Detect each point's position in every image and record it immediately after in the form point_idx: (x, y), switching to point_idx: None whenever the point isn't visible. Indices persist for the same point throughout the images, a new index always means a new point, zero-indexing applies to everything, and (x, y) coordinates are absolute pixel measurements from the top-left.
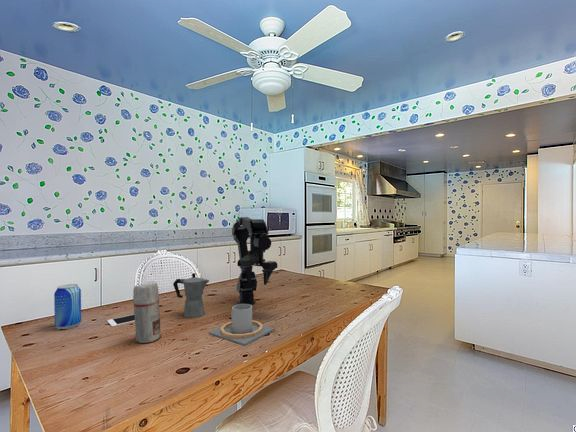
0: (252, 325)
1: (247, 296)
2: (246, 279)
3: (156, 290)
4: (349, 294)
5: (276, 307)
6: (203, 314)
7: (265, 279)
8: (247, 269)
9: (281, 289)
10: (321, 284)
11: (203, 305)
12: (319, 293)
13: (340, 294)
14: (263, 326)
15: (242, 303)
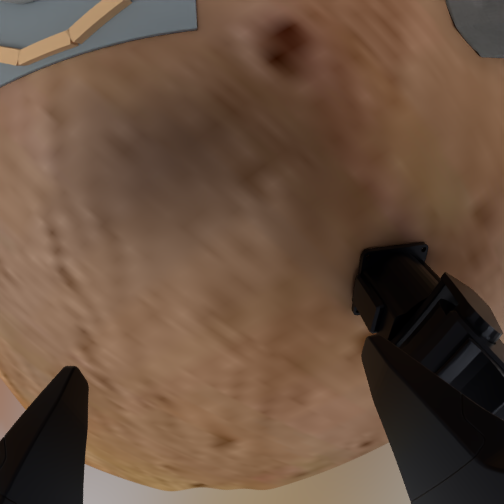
0: (50, 30)
1: (392, 294)
2: (451, 374)
3: None
4: (142, 475)
5: (205, 330)
6: (451, 15)
7: (17, 421)
8: (472, 493)
9: (348, 433)
10: (267, 485)
11: (490, 22)
12: (210, 464)
13: (158, 472)
14: (2, 74)
15: (398, 253)
